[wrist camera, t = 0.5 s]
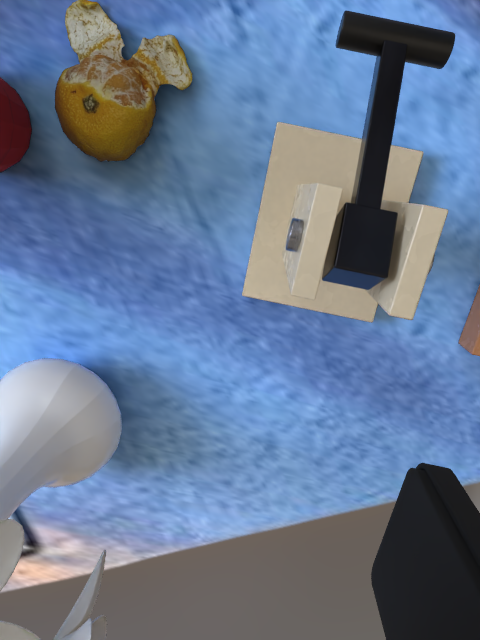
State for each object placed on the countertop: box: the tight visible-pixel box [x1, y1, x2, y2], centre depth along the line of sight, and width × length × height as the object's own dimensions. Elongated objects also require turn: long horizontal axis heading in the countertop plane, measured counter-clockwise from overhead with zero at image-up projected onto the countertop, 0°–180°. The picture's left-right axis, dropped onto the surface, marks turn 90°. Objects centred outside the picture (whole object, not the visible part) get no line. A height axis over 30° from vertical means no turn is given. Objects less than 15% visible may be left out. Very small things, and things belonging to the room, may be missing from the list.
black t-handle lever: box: [322, 11, 455, 290], centre depth 19 cm, size 12×5×2 cm, turn 169°
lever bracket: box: [242, 122, 448, 322], centre depth 23 cm, size 11×9×13 cm
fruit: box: [55, 0, 192, 161], centre depth 26 cm, size 8×8×4 cm
